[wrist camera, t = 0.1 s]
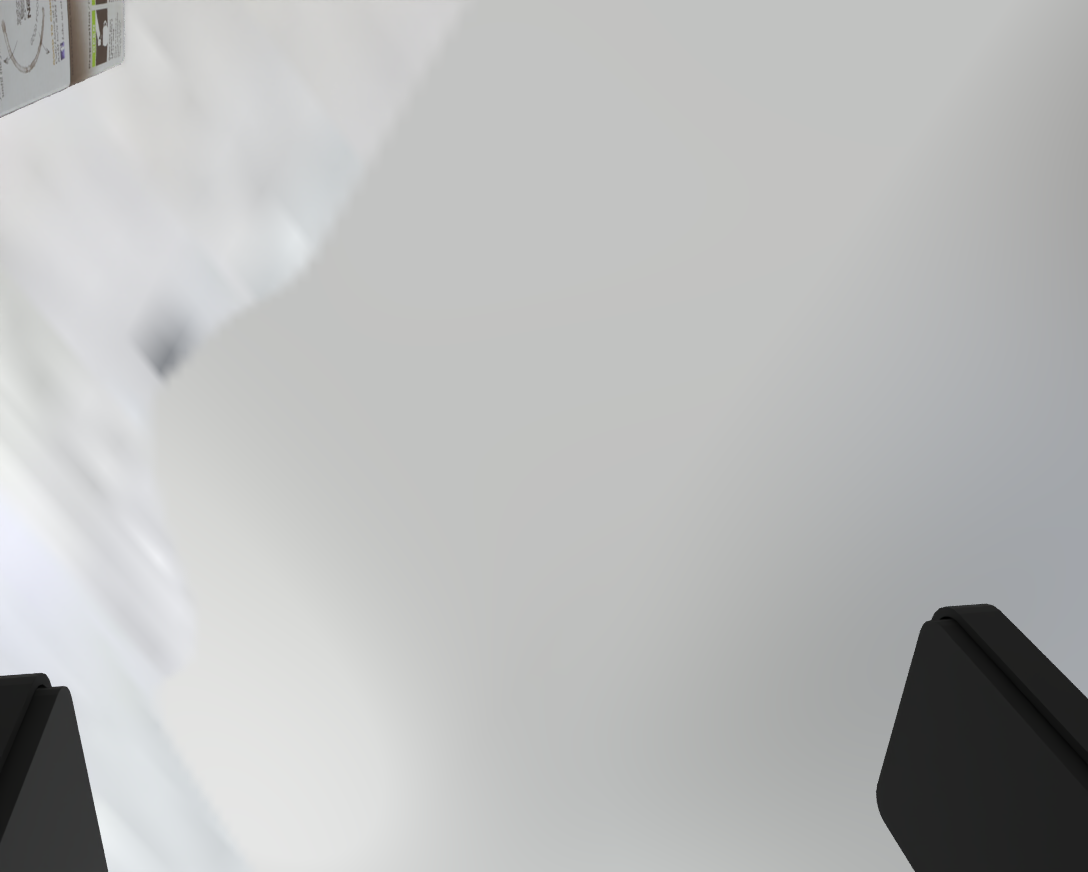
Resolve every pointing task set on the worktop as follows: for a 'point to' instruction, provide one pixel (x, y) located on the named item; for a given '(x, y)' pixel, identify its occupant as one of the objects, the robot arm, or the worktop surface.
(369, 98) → the worktop surface
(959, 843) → the robot arm
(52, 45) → the coffee box
